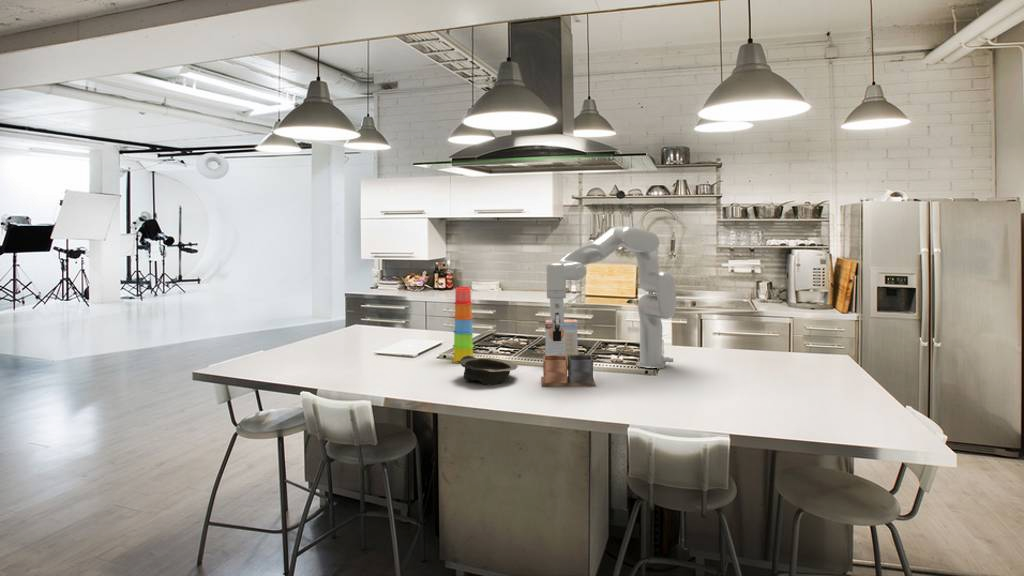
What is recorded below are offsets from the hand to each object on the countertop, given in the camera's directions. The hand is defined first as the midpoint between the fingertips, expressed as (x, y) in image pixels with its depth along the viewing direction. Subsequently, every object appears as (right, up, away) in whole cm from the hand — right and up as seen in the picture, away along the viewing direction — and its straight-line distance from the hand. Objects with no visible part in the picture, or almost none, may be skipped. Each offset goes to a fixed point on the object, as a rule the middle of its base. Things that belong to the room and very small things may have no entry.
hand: (556, 339), depth 240 cm
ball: (0, +2, 0) cm, 2 cm away
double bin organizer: (+5, -18, +2) cm, 18 cm away
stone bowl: (-27, -18, +9) cm, 34 cm away
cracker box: (+4, -15, +28) cm, 32 cm away
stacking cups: (-40, -14, +42) cm, 60 cm away
